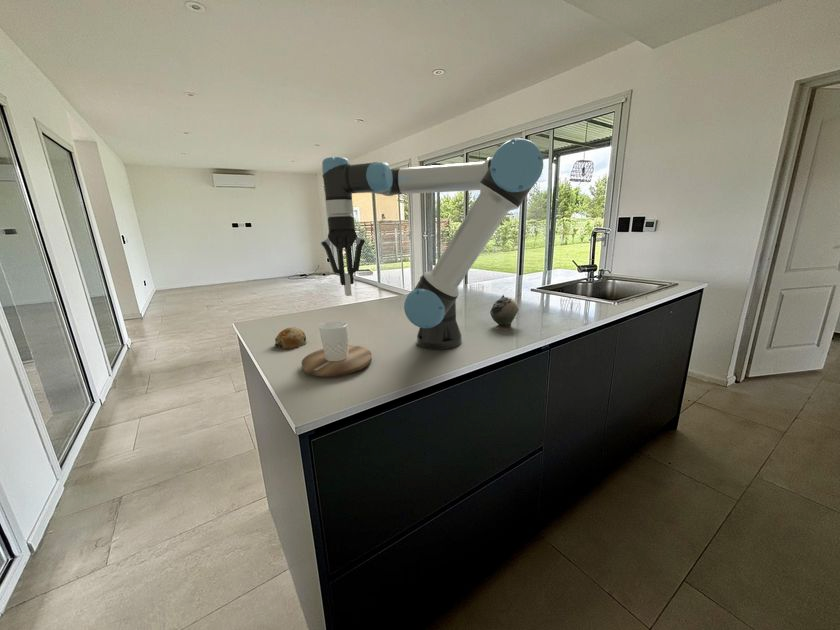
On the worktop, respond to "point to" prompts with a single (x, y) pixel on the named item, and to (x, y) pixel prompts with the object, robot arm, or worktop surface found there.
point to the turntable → (336, 362)
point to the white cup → (335, 340)
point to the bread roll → (290, 338)
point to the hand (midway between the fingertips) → (348, 294)
